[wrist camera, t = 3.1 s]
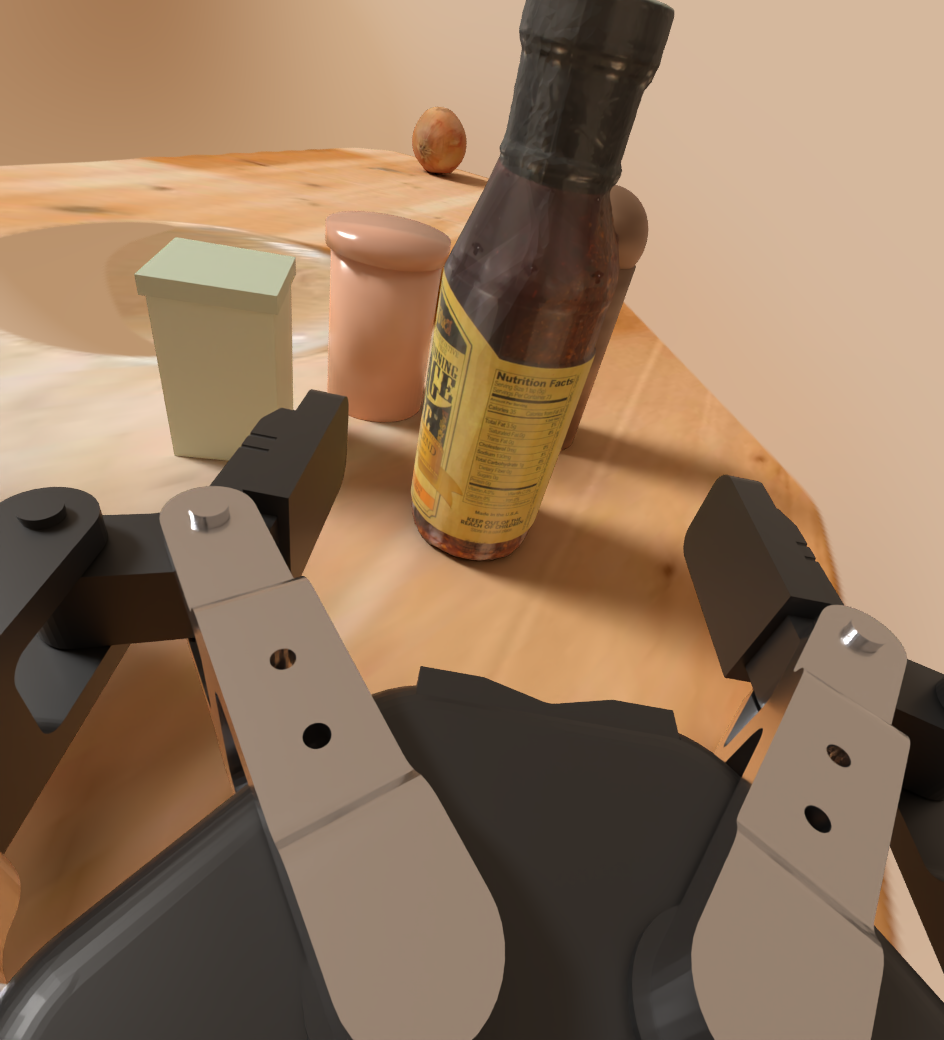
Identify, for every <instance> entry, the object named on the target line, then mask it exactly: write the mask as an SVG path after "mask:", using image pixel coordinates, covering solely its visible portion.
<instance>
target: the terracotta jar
mask: <svg viewBox="0 0 944 1040" xmlns="http://www.w3.org/2000/svg"><path fill="white" fill-rule="evenodd" d="M325 241H326V244H327V246H328V247H329V248H330V249H331V269H330V307H329V345H328V383H327V393H332V394H337V395H342V396H347V397H348V402H349V413H348V415H349V416H352V417H355V418H358V419H362V420H367V421H373V422H395V421H400V420H404V419H407V418H410V417H412V416H413V415H415V414H416V413H417V412H418V411H419V410H420V408H421V403H422V396H423V390H424V383H425V376H426V369H427V363H428V356H429V349H430V342H431V336H432V329H433V322H434V315H435V309H436V302H437V295H438V288H439V282H440V275H441V268H443V267H444V265H445V263H446V261H447V259H448V257H449V252H450V245H451V240H450V238H449V237H448V236H447V235H446V234H444V233H443V232H441V231H439V230H438V229H435V228H433V227H431V226H429V225H426V224H423V223H420V222H417V221H414V220H411V219H407V218H403V217H398V216H394V215H388V214H382V213H375V212H364V211H344V212H337V213H333V214H330V215H329V216H327V218H326V233H325Z"/></svg>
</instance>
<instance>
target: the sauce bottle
mask: <svg viewBox="0 0 944 1040" xmlns="http://www.w3.org/2000/svg"><path fill="white" fill-rule="evenodd" d="M673 19H674V10H673V8H671V7H670V6H668V5H666V4H664V3H662V2H659V1H656V0H526V3H525V6H524V10H523V14H522V19H521V24H520V28H519V29H520V30H519V33H520V41H521V45H522V52H521V58H520V64H519V68H518V74H517V79H516V83H515V88H514V96H513V102H512V105H511V111H510V115H509V121H508V125H507V130H506V133H505V136H504V139H503V141H502V143H501V145H500V152H501V154H500V157H499V159H498V161H497V163H496V165H495V167H494V170H493V172H492V174H491V176H490V178H489V180H488V182H487V184H486V186H485V188H484V190H483V192H482V194H481V196H480V198H479V200H478V202H477V204H476V206H475V208H474V209H473V211H472V213H471V215H470V217H469V219H468V221H467V223H466V225H465V227H464V228H463V230H462V232H461V234H460V236H459V238H458V240H457V242H456V244H455V246H454V247H453V249H452V251H451V253H450V255H449V257H448V259H447V261H446V263H445V265H444V271H443V277H442V284H441V290H440V296H439V303H438V310H437V318H436V324H435V331H434V337H433V344H432V351H431V357H430V362H429V368H428V375H427V383H426V391H425V397H424V403H423V410H422V417H421V424H420V430H419V437H418V444H417V451H416V457H415V464H414V471H413V478H412V485H411V496H412V510H413V512H412V514H413V517H414V521H415V524H416V525H417V527H418V531H419V532H420V534H421V536H422V538H424V539H425V540H426V541H427V542H428V543H429V544H430V545H433V546H436V547H438V548H440V549H441V550H442V551H445V552H447V553H449V554H451V555H453V556H456V557H462V558H466V559H470V560H487V559H489V560H494V559H496V558H500V557H505V556H508V555H510V554H511V553H512V552H513V551H514V550H515V549H517V548H518V547H519V546H520V544H521V543H522V541H523V540H524V538H525V536H526V535H527V532H528V530H529V528H530V527H531V526H532V524H533V523H534V521H535V519H536V516H537V514H538V511H539V508H540V505H541V502H542V499H543V496H544V494H545V491H546V488H547V486H548V483H549V480H550V478H551V475H552V472H553V470H554V467H555V464H556V461H557V459H558V456H559V453H560V450H561V448H562V445H563V442H564V439H565V437H566V434H567V431H568V428H569V426H570V423H571V420H572V417H573V415H574V412H575V409H576V406H577V404H578V401H579V398H580V395H581V393H582V390H583V387H584V384H585V382H586V379H587V376H588V373H589V371H590V368H591V365H592V362H593V360H594V357H595V353H596V348H595V345H596V342H597V339H598V337H599V334H600V330H601V327H602V325H603V322H604V320H605V317H606V313H607V311H608V308H609V305H610V303H611V302H612V300H613V297H614V293H615V289H616V287H617V281H618V276H619V269H620V265H619V235H618V234H617V233H616V231H615V228H614V225H613V221H614V219H613V214H612V206H611V201H610V191H611V189H612V187H613V186H615V184H616V183H617V182H618V180H619V178H620V176H621V172H622V169H621V160H622V157H623V155H624V151H625V148H626V145H627V142H628V138H629V135H630V132H631V129H632V126H633V123H634V120H635V117H636V113H637V109H638V107H639V104H640V101H641V97H642V95H643V92H644V90H645V89H646V88H647V87H648V85H649V84H650V83H651V82H652V79H653V77H654V75H655V73H656V71H657V69H658V68H659V65H660V62H661V58H662V54H663V50H664V48H665V45H666V42H667V39H668V36H669V32H670V29H671V25H672V22H673Z"/></svg>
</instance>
